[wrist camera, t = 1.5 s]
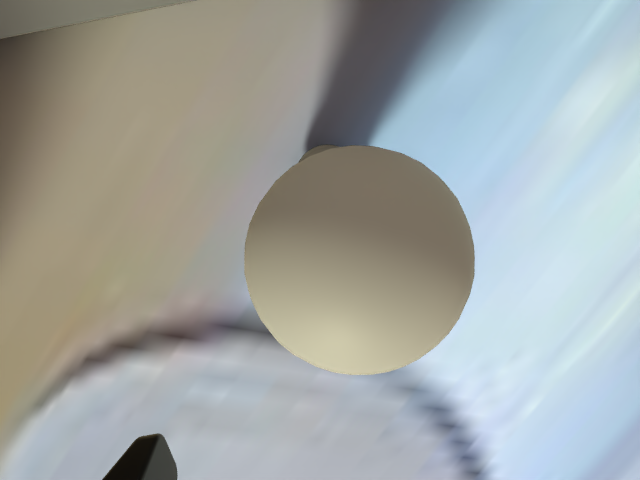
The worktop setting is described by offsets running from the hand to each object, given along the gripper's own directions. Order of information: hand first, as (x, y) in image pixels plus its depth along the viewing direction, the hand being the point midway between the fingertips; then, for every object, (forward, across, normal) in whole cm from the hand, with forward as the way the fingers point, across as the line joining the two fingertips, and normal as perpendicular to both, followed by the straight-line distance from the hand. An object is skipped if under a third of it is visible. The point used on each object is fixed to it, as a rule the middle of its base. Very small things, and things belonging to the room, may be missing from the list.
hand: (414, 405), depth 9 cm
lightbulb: (+14, 0, 0) cm, 14 cm away
